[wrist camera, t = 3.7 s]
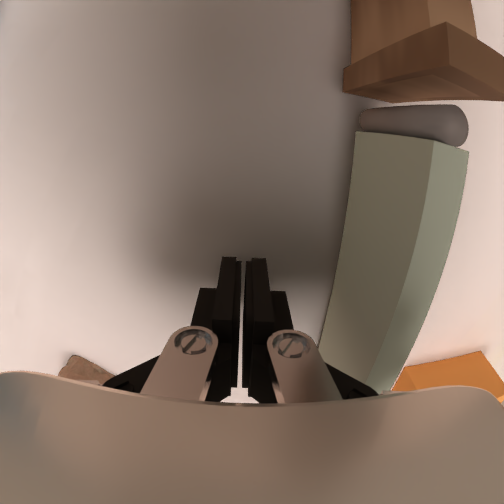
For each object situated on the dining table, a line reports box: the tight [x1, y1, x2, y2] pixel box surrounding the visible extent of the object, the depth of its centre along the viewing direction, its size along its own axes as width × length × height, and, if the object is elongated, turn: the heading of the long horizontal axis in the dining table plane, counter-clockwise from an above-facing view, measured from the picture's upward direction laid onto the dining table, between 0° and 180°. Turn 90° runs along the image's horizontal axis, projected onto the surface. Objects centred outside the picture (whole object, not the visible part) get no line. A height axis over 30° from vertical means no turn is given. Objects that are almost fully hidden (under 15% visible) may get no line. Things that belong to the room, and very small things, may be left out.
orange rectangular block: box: [392, 351, 504, 403], centre depth 14 cm, size 5×8×5 cm, turn 87°
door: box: [318, 105, 469, 394], centre depth 9 cm, size 13×2×5 cm, turn 177°
